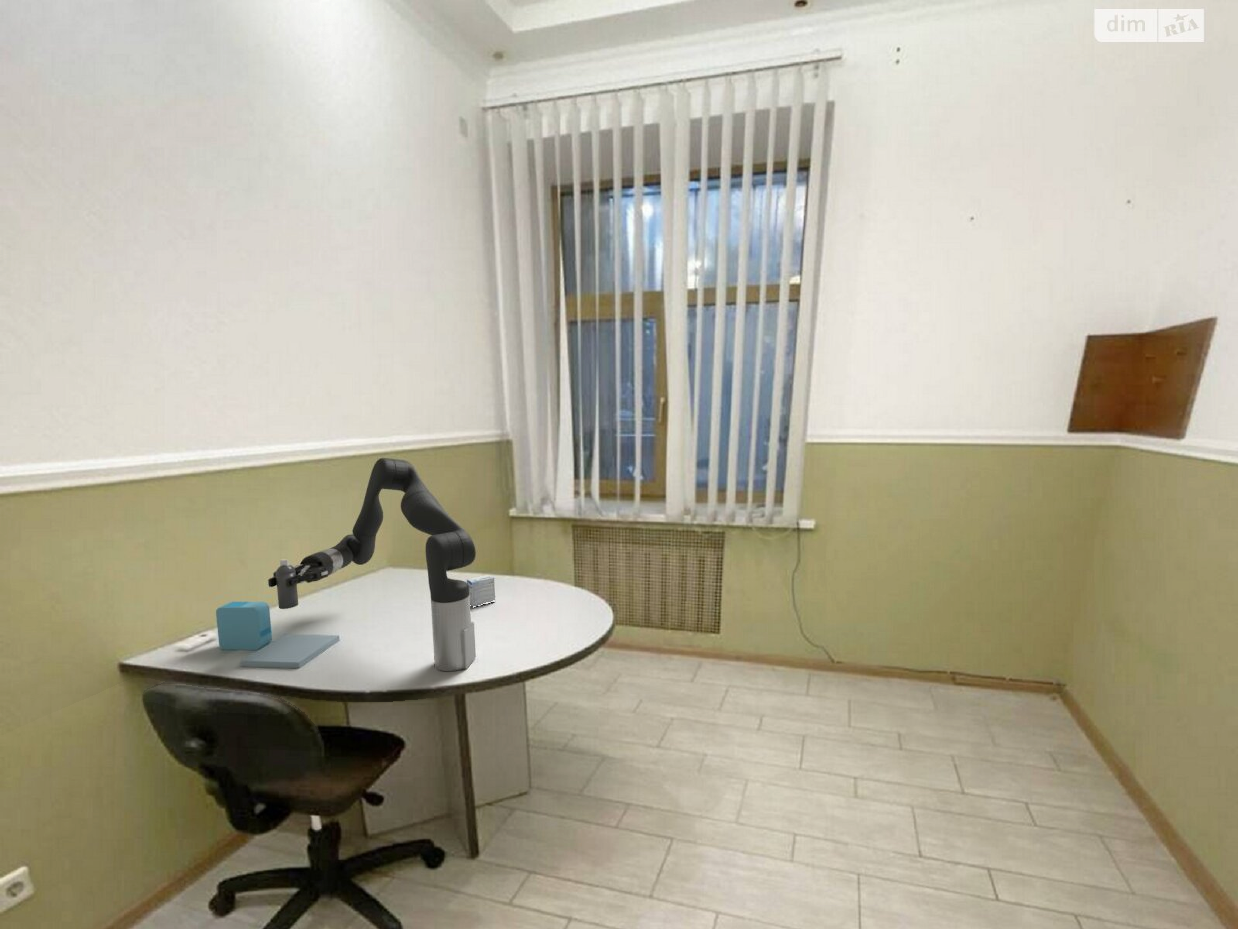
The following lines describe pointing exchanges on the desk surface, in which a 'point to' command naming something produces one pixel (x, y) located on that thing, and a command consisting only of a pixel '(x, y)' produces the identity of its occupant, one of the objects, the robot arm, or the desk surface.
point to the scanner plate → (290, 651)
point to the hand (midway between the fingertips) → (278, 583)
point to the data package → (244, 625)
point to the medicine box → (481, 590)
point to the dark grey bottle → (285, 594)
